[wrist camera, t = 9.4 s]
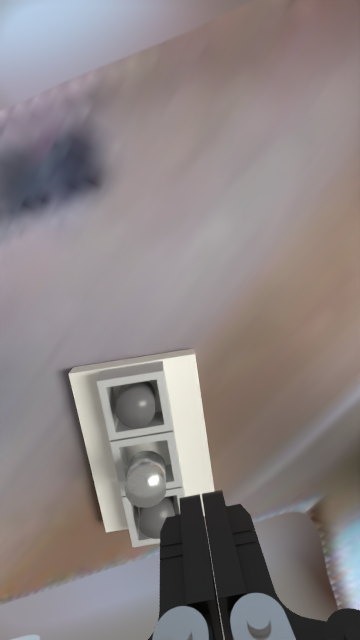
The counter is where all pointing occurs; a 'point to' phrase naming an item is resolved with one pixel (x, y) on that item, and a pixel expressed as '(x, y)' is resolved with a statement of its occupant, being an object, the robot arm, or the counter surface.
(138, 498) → the steel knob
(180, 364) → the panel
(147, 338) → the counter surface
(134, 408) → the charcoal knob
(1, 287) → the counter surface
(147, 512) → the charcoal knob
